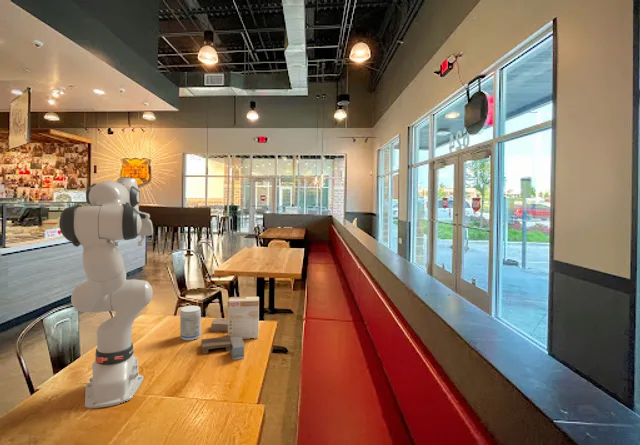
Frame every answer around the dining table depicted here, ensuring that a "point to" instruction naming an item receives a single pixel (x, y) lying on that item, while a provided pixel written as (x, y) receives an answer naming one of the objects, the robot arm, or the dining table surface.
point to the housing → (237, 348)
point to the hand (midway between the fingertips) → (128, 245)
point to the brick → (219, 324)
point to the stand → (215, 343)
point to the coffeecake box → (243, 317)
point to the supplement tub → (190, 322)
